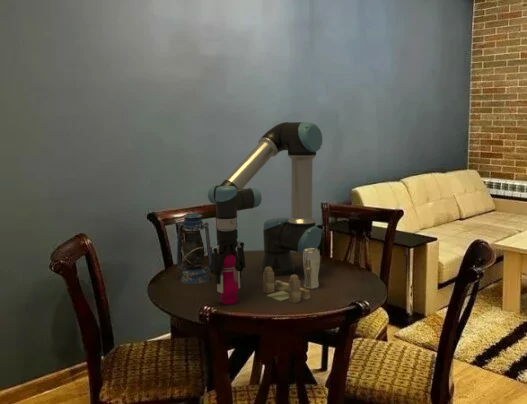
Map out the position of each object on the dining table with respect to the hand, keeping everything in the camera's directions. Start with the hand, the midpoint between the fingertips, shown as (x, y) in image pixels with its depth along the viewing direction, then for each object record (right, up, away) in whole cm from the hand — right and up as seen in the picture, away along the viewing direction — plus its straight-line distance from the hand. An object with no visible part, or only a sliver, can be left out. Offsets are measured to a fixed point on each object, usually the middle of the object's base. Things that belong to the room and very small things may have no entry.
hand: (228, 289), depth 203 cm
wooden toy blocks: (+21, -3, +6) cm, 22 cm away
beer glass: (+32, -2, +17) cm, 36 cm away
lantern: (-16, 0, +29) cm, 33 cm away
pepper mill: (0, -5, +1) cm, 5 cm away
